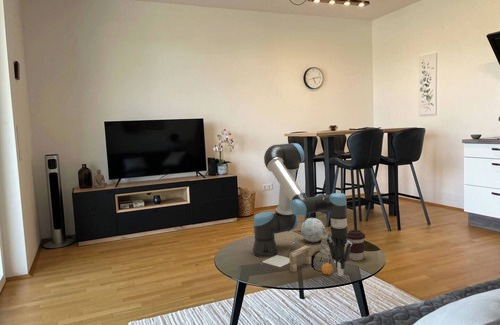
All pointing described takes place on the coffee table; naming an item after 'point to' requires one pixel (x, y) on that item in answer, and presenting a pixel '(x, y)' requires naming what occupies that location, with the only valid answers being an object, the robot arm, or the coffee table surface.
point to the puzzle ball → (312, 229)
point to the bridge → (293, 254)
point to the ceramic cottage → (325, 242)
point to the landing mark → (277, 261)
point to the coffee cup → (356, 244)
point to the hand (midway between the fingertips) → (340, 274)
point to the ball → (327, 268)
